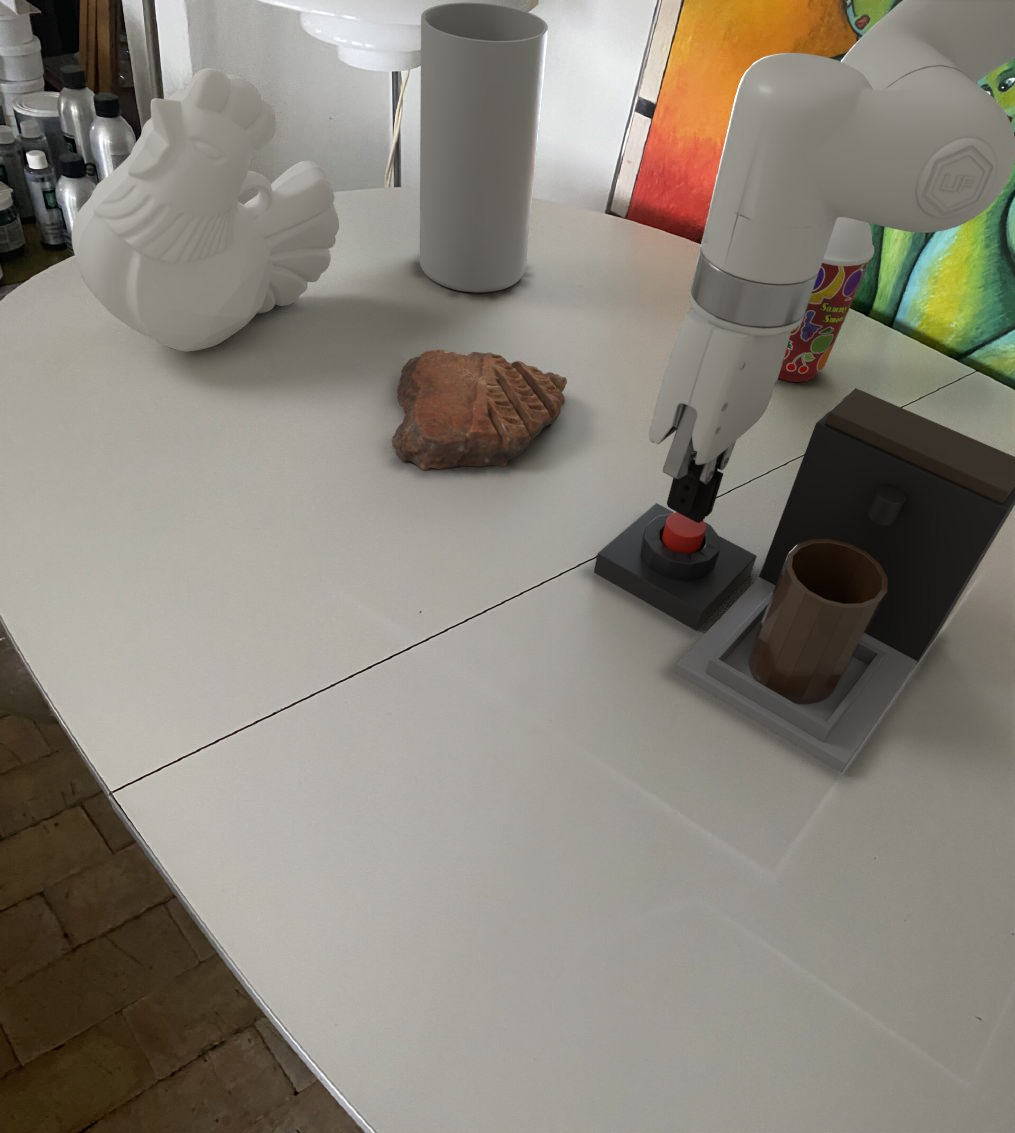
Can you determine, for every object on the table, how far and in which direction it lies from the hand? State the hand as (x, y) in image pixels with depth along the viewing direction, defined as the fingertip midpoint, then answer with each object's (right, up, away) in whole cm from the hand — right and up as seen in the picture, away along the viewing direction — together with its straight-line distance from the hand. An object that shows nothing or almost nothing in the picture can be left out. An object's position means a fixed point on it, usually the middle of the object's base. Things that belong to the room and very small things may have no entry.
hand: (688, 510), depth 75 cm
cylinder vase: (-18, +35, +38) cm, 55 cm away
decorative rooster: (-43, +23, +25) cm, 55 cm away
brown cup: (+7, -12, -3) cm, 15 cm away
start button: (0, -2, +2) cm, 3 cm away
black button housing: (0, -4, +5) cm, 7 cm away
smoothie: (+16, +20, +29) cm, 39 cm away
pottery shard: (-17, +12, +18) cm, 28 cm away
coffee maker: (+9, -11, 0) cm, 15 cm away
